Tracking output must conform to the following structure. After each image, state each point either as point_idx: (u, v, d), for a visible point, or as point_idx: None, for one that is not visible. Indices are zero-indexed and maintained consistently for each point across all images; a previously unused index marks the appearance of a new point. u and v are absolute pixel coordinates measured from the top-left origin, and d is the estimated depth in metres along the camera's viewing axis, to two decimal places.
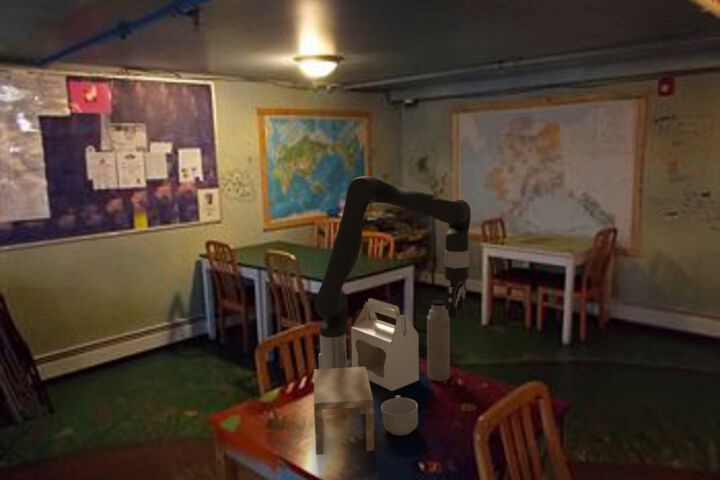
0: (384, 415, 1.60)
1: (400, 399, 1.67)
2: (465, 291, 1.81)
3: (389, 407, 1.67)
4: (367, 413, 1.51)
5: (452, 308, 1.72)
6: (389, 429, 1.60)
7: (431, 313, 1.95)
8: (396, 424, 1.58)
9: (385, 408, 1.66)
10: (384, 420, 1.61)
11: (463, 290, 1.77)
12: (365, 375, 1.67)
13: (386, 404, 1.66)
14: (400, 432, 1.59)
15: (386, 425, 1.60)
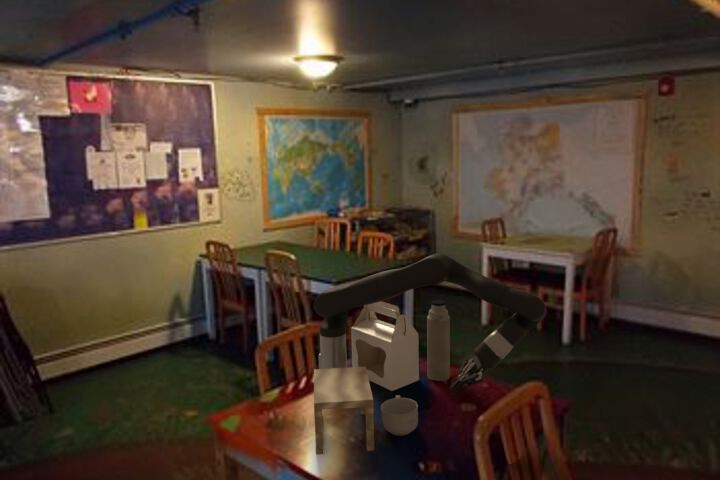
0: (384, 415, 1.60)
1: (400, 399, 1.67)
2: None
3: (389, 407, 1.67)
4: (367, 413, 1.51)
5: (462, 385, 1.63)
6: (389, 429, 1.60)
7: (431, 313, 1.95)
8: (396, 424, 1.58)
9: (385, 408, 1.66)
10: (384, 420, 1.61)
11: None
12: (365, 375, 1.67)
13: (386, 404, 1.66)
14: (400, 432, 1.59)
15: (386, 425, 1.60)
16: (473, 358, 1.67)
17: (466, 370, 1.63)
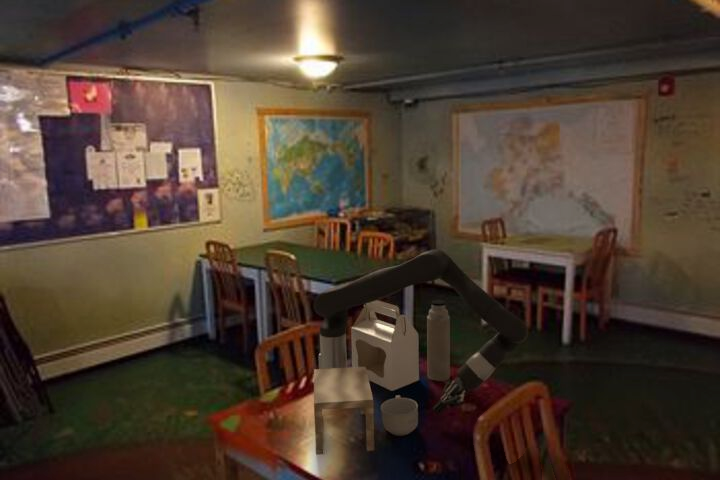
0: (384, 415, 1.60)
1: (400, 399, 1.67)
2: None
3: (389, 407, 1.67)
4: (367, 413, 1.51)
5: (444, 406, 1.64)
6: (389, 429, 1.60)
7: (431, 313, 1.95)
8: (396, 424, 1.58)
9: (385, 408, 1.66)
10: (384, 420, 1.61)
11: None
12: (365, 375, 1.67)
13: (386, 404, 1.66)
14: (400, 432, 1.59)
15: (386, 425, 1.60)
16: (456, 379, 1.67)
17: (448, 392, 1.64)
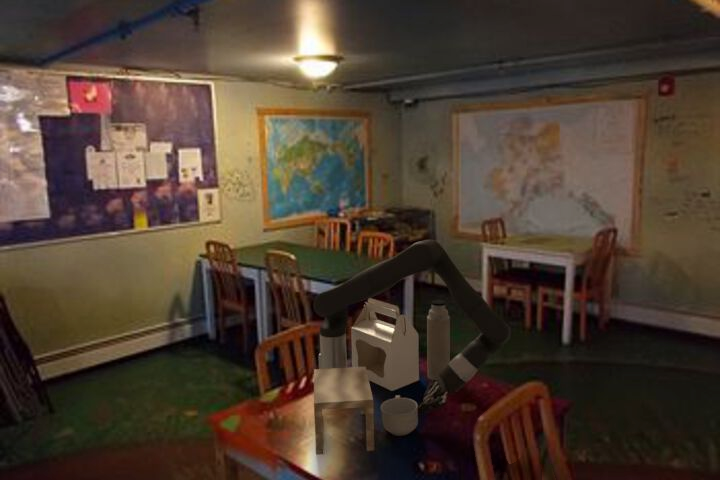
0: (384, 415, 1.60)
1: (400, 399, 1.67)
2: None
3: (389, 407, 1.67)
4: (367, 413, 1.51)
5: (426, 407, 1.64)
6: (389, 429, 1.60)
7: (431, 313, 1.95)
8: (396, 424, 1.58)
9: (385, 408, 1.66)
10: (384, 420, 1.61)
11: None
12: (365, 375, 1.67)
13: (386, 404, 1.66)
14: (400, 432, 1.59)
15: (386, 425, 1.60)
16: (438, 380, 1.67)
17: (431, 393, 1.64)
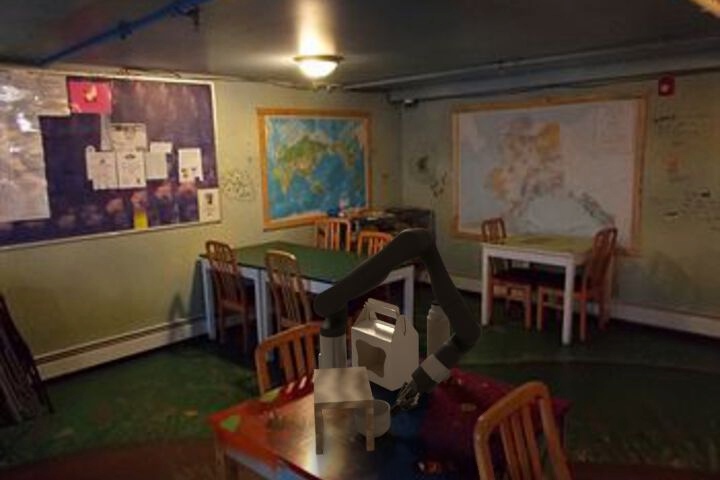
0: (356, 417, 1.60)
1: (373, 401, 1.67)
2: None
3: (362, 408, 1.66)
4: (367, 413, 1.51)
5: (399, 409, 1.63)
6: (361, 431, 1.59)
7: (431, 313, 1.95)
8: None
9: (358, 410, 1.65)
10: (356, 422, 1.60)
11: None
12: (365, 375, 1.67)
13: None
14: None
15: (358, 427, 1.60)
16: (411, 382, 1.66)
17: (403, 394, 1.63)
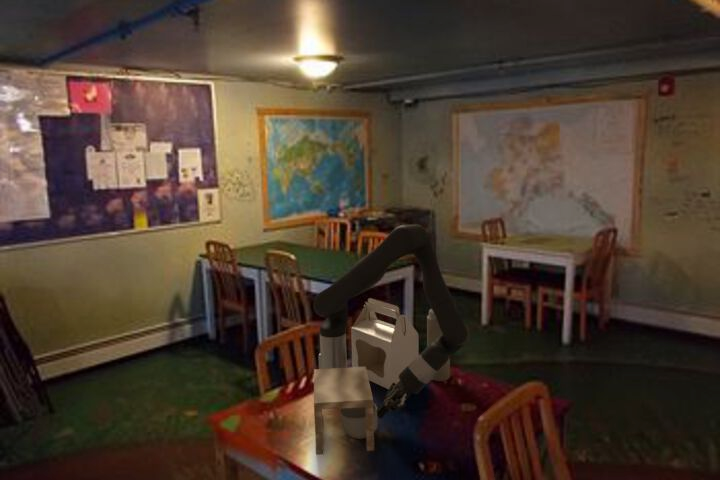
0: (343, 418, 1.59)
1: None
2: None
3: (349, 409, 1.66)
4: (367, 413, 1.51)
5: (386, 410, 1.63)
6: (347, 432, 1.59)
7: (431, 313, 1.95)
8: (354, 427, 1.57)
9: (345, 411, 1.65)
10: (343, 423, 1.60)
11: None
12: (365, 375, 1.67)
13: None
14: (358, 435, 1.58)
15: (345, 428, 1.59)
16: (399, 383, 1.66)
17: (391, 395, 1.63)
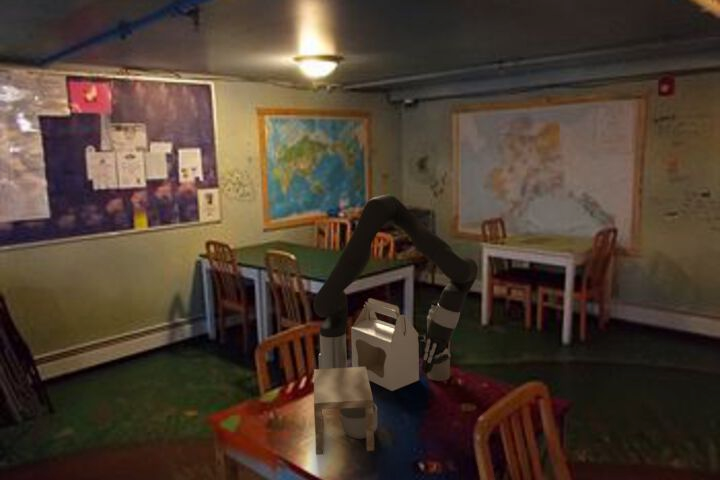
0: (343, 418, 1.59)
1: None
2: None
3: (349, 410, 1.66)
4: (367, 413, 1.51)
5: (432, 364, 1.68)
6: (347, 432, 1.59)
7: (431, 313, 1.95)
8: (354, 427, 1.57)
9: (345, 411, 1.65)
10: (343, 423, 1.60)
11: None
12: (365, 375, 1.67)
13: None
14: (358, 435, 1.58)
15: (345, 428, 1.59)
16: (428, 335, 1.68)
17: (431, 352, 1.66)
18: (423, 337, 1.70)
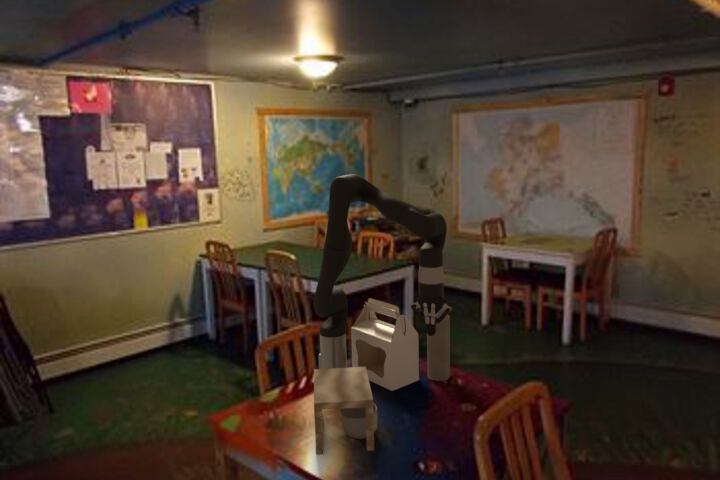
0: (343, 418, 1.59)
1: None
2: None
3: (349, 410, 1.66)
4: (367, 413, 1.51)
5: (435, 324, 1.70)
6: (347, 432, 1.59)
7: None
8: (354, 427, 1.57)
9: (345, 411, 1.65)
10: (343, 423, 1.60)
11: None
12: (365, 375, 1.67)
13: None
14: (358, 435, 1.58)
15: (345, 428, 1.59)
16: (421, 300, 1.69)
17: (431, 313, 1.68)
18: (416, 304, 1.71)
